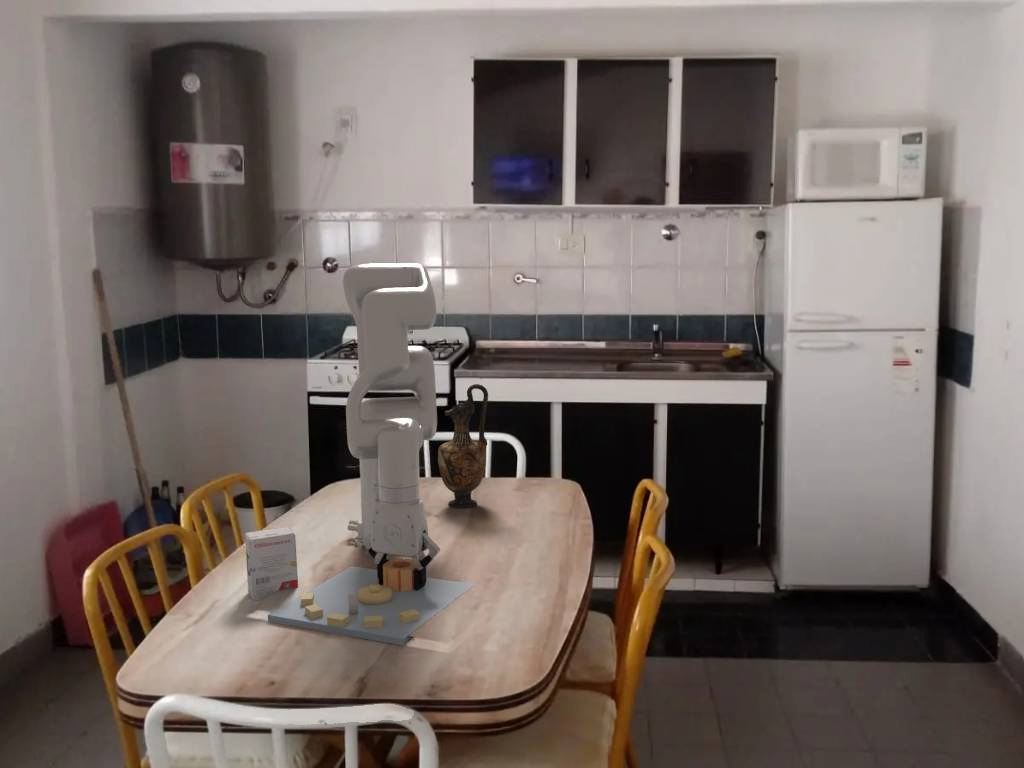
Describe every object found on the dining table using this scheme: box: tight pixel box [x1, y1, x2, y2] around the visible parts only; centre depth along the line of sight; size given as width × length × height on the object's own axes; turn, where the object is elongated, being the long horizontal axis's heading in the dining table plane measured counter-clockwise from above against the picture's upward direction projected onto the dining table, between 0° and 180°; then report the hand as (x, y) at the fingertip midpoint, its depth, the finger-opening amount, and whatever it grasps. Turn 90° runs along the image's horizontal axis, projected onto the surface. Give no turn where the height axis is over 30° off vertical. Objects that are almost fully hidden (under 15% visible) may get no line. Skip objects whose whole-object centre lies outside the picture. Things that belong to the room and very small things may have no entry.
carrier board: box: [267, 565, 475, 647], centre depth 181 cm, size 27×27×5 cm
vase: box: [437, 383, 489, 509], centre depth 243 cm, size 12×12×30 cm
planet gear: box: [383, 558, 416, 592], centre depth 188 cm, size 7×7×4 cm
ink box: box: [244, 526, 299, 601], centre depth 187 cm, size 9×5×12 cm, turn 116°
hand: (401, 584), depth 188 cm, fingers closed on carrier board, 6 cm apart
